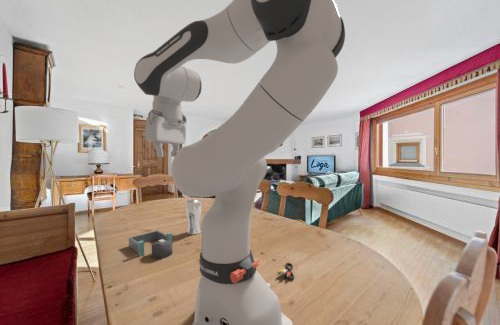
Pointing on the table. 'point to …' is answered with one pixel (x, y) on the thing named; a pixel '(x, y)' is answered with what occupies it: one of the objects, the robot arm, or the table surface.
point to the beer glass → (193, 216)
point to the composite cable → (286, 272)
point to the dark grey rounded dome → (161, 249)
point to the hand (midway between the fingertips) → (168, 156)
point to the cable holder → (146, 240)
